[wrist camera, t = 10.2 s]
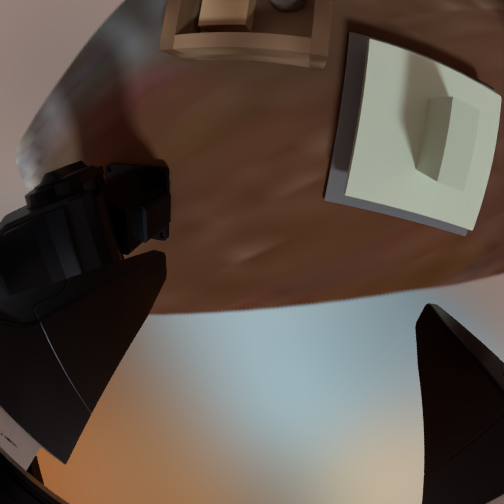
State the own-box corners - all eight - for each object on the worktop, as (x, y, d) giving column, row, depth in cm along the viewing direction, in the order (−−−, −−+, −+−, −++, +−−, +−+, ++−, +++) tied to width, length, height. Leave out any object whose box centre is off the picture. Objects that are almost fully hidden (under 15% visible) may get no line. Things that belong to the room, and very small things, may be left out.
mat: (324, 199, 20) (324, 200, 20) (349, 32, 14) (349, 31, 14) (463, 235, 18) (465, 236, 18) (495, 92, 12) (496, 92, 12)
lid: (341, 187, 19) (352, 212, 14) (363, 46, 14) (382, 22, 9) (460, 220, 18) (494, 251, 13) (486, 96, 13) (529, 98, 8)
